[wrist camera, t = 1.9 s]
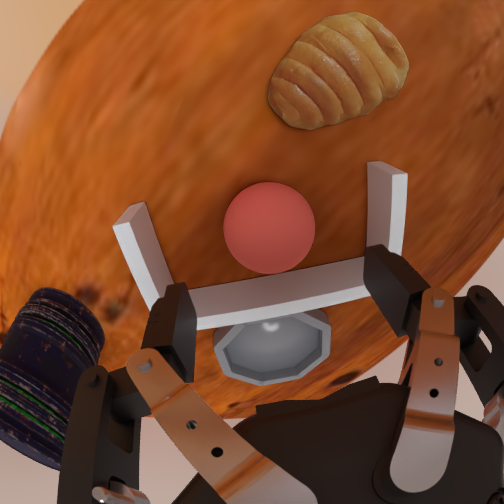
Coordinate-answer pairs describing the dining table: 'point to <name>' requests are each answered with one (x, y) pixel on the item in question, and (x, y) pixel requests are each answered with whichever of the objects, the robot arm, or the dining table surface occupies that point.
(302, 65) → the pastry
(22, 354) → the dark blue ridged cylinder
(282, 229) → the ball
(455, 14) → the dining table surface
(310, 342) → the dish
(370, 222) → the white u-shaped bracket
